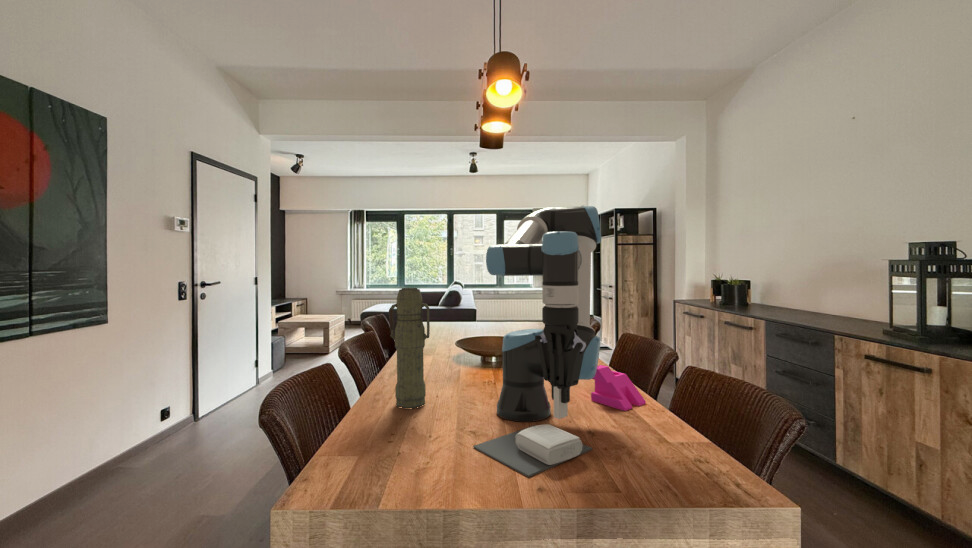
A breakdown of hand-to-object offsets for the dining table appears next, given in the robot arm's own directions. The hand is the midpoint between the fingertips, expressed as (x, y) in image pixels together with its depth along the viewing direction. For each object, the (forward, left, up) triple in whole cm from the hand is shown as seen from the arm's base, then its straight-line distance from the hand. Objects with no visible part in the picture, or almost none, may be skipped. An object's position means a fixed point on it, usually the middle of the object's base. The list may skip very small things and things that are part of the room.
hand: (560, 416), depth 91 cm
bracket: (-15, +43, -10) cm, 47 cm away
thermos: (-54, -6, -10) cm, 55 cm away
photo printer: (+2, 0, -7) cm, 7 cm away
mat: (-8, 0, -10) cm, 13 cm away
